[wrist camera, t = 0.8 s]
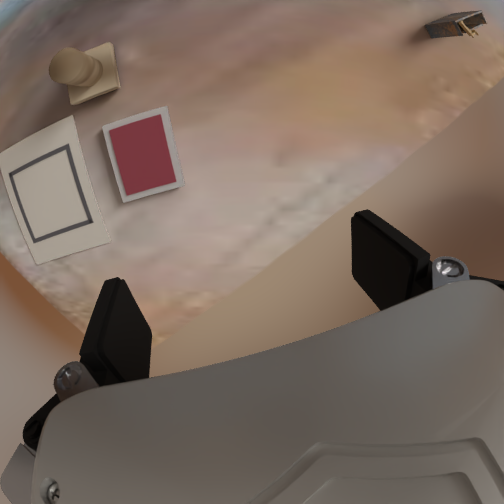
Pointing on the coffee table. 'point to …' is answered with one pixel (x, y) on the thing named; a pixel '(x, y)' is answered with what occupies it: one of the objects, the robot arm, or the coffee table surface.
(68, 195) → the marked card
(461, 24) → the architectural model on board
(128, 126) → the ink pad
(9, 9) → the coffee table surface
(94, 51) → the stamp
